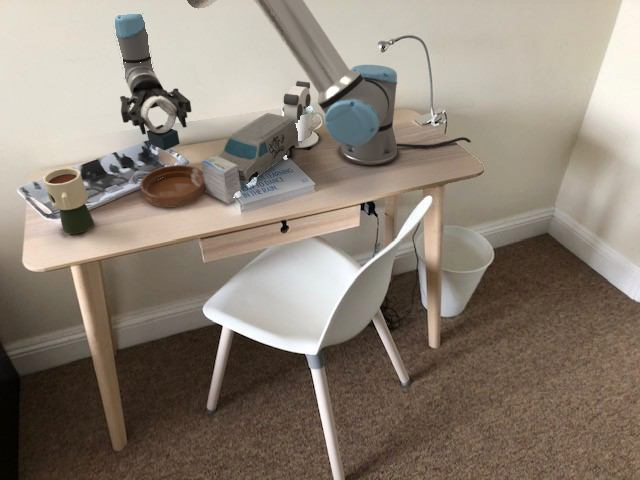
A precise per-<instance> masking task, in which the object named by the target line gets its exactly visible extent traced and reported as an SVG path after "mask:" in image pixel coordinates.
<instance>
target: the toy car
mask: <svg viewBox="0 0 640 480" xmlns="http://www.w3.org/2000/svg"><path fill="white" fill-rule="evenodd" d="M298 146H299V143H298V131H297V128H296V124H295V122H294V120H293V119H291V118H288V117H284V115H281V114H280V115H279V114H275V113H271V112H267V113H264V115H262V116H260V117H258V118H255V120H252V121H251V122H249V123H248V124H246V125H244V126H243V127H241V128H239V129H237V131H235V132H233V133H231V135H229V137H228V139H227V141H226V143H225V146H224V147H223V150H222V151H221V152H220V153H219V154H218V155H217V156H219V157H221V158H223V159H225V160H227V161H229V162H232V163H234V164H236V165H237V166H238V173H239V181H240V184H242V183H243V185H246V184H248V183H249V182H250V181H251V180H252V179H253V178H254V177H257V176H258V175H260V174H261V173H262V172H264V171H265V170H266V171H268V170H269V169H270V168H269V167H271V166H272V165H273V164H275V163H276V162H277V163H279V162H280V161H281V160H283V159H282V158H283V157H284V156H285V155H287V158H288V160H290V158H292V155H293V150H295V149H297V148H296V147H298ZM280 159H281V160H280ZM279 160H280V161H279ZM278 161H279V162H278ZM277 163H276V164H277ZM276 164H275V165H276ZM273 166H274V165H273ZM273 166H272V167H273ZM272 167H271V168H272ZM268 168H269V169H268ZM267 169H268V170H267ZM266 171H265V172H266ZM265 172H264V173H265ZM262 174H263V173H262ZM262 174H261V175H262ZM261 175H260V176H261ZM258 177H259V176H258Z"/></svg>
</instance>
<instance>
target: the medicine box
mask: <svg viewBox="0 0 640 480" xmlns="http://www.w3.org/2000/svg"><path fill="white" fill-rule="evenodd" d="M201 169H202V172H203V174H204V181H205V187H206V192H205V193H207V195H208V194H209V195H210V196H212V197H214V198H217V199H218V200H220V201H222V202H224V203H225V204H227V205H229V204H231V203H233V202H235V201H237V199H236V197H235V198H233V197H234V194H235V193H236V192H238V191H240V190H241V183H240V181H239V173H238V166H237V165H236V164H234V163H232V162H229V161H227V160H225V159H223V158H221V157H219V156H218V155H215V154H214V155H212V156H210V157H208V158H206V159H204V160H202V161H201ZM241 191H242V190H241Z"/></svg>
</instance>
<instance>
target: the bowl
mask: <svg viewBox="0 0 640 480" xmlns="http://www.w3.org/2000/svg"><path fill="white" fill-rule="evenodd" d="M162 177H163V178H162ZM160 178H161V179H160ZM158 179H159V180H158ZM139 188H140V192H141V196H142V199H143V200H144V201H145V202H147V203H148V204H150V205H152V206H157V207H163V208H173V207H181V206H185V205H189V204H190V203H191V204H192V203H194V202H195V201H197V200H199V199H200V198H201V197H203V196H204V195H205V193H207V192H206V187H205V181H204V174H203V170H201V169H200V168H198V167H195V166H191V165H185V164H174V165H166V166H162V167H160V168H157V169H154V170H151V171H150V172H148V173H147V174H145V175H144V176H143V177H142V179H141V180H140V183H139Z"/></svg>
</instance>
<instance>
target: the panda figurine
mask: <svg viewBox="0 0 640 480" xmlns="http://www.w3.org/2000/svg"><path fill="white" fill-rule="evenodd" d="M310 82H311V81H310ZM310 82H308V81H300V80H297V81H296V83H295V85H292V86H291V87H290V88H289V90H288V91H287V93H284V95H283V105H284V106H283V116H284V117H288V118H291V119H293V120H294V122H295V123H298V120H300V116H301V115H302V114H304V113H305V112H306V108H307V107H308V106H310V107H311V101H312V98H311V97H312V96H311V94H310V88H311V83H310ZM318 142H319V136H318V134H317V133H316V132H314V131H312V134H311V136H310V137H309V138H307V139H305V140H302V141H298V143H299V146H298V147H296V148H295V149H305V148H309V147H312V146H314V145H316V144H317V143H318Z"/></svg>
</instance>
